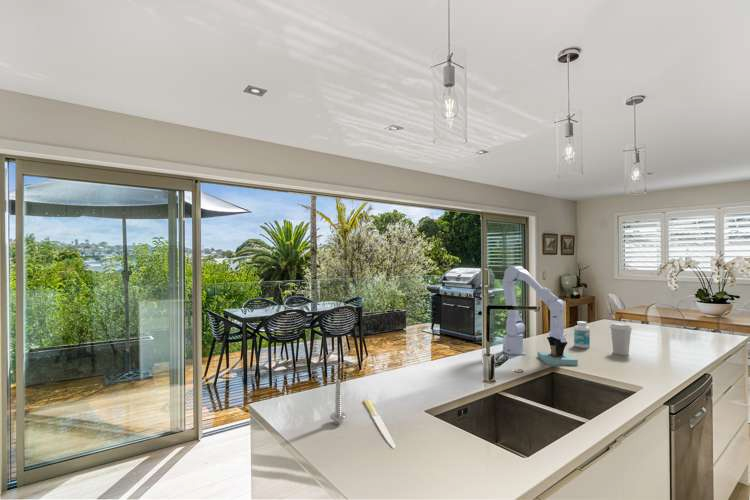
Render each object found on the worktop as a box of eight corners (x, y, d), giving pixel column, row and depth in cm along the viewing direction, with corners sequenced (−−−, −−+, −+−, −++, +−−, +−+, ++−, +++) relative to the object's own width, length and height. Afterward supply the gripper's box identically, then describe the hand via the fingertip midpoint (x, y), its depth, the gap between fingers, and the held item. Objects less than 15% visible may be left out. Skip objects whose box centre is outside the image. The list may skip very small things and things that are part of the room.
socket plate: (548, 364, 172) (548, 359, 172) (537, 356, 185) (537, 351, 185) (577, 365, 172) (577, 359, 172) (564, 357, 185) (564, 352, 185)
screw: (326, 423, 113) (338, 417, 117) (338, 428, 110) (349, 422, 114) (326, 379, 113) (338, 375, 117) (338, 383, 110) (349, 379, 114)
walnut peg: (554, 362, 176) (554, 347, 177) (551, 359, 180) (551, 345, 181) (563, 362, 176) (563, 347, 176) (559, 359, 180) (559, 345, 180)
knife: (405, 451, 99) (389, 450, 98) (375, 402, 131) (362, 401, 130) (406, 446, 99) (390, 445, 98) (375, 398, 131) (362, 397, 130)
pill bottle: (571, 345, 207) (571, 321, 207) (580, 344, 210) (580, 320, 211) (583, 349, 201) (583, 323, 201) (592, 347, 204) (592, 322, 204)
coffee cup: (613, 355, 189) (613, 325, 189) (607, 350, 198) (607, 321, 198) (635, 356, 186) (635, 326, 186) (628, 351, 195) (628, 322, 195)
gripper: (572, 328, 171) (572, 358, 171) (559, 322, 186) (559, 350, 185) (556, 328, 171) (556, 358, 171) (544, 322, 186) (544, 350, 186)
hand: (556, 354), depth 178 cm, fingers open, 6 cm apart
